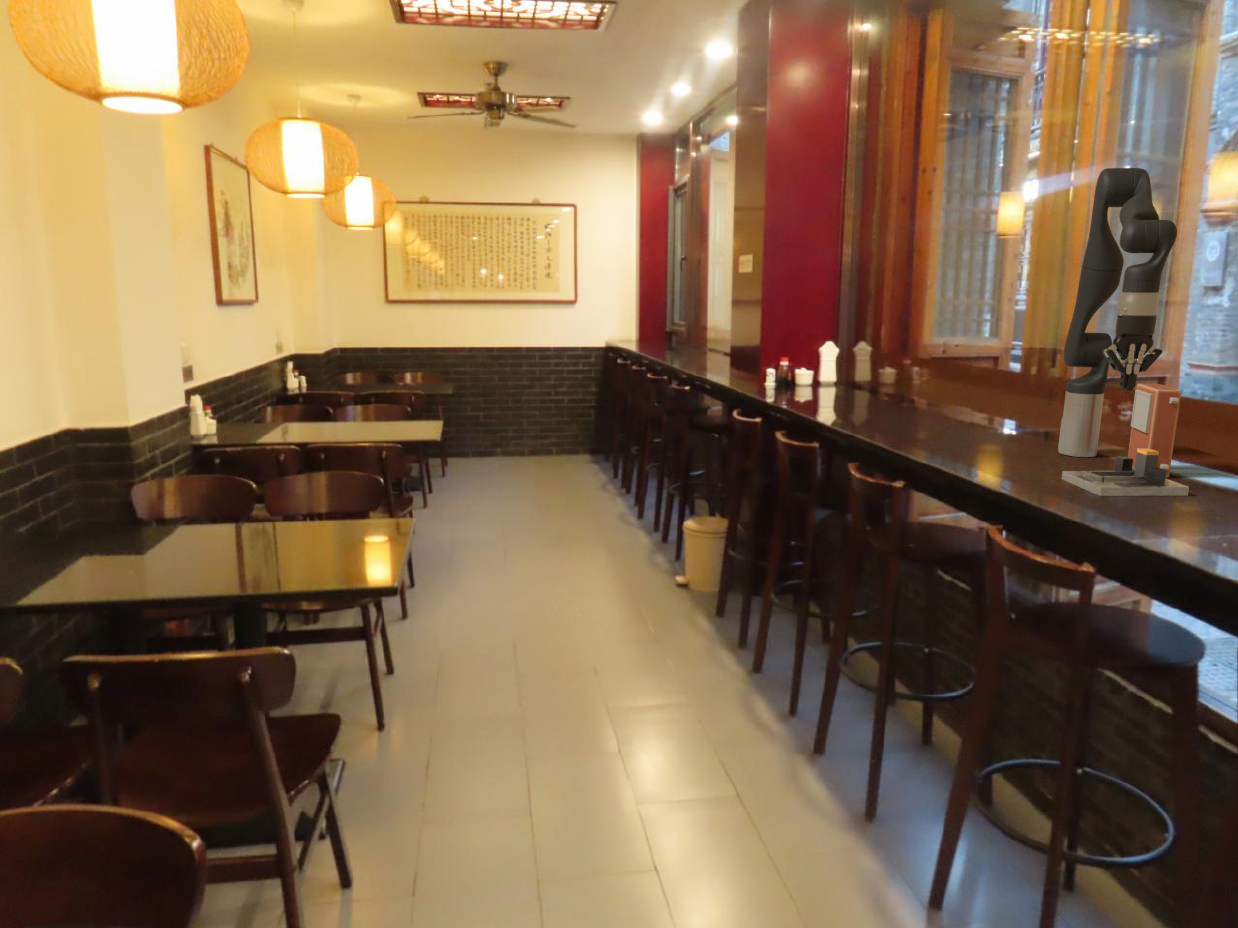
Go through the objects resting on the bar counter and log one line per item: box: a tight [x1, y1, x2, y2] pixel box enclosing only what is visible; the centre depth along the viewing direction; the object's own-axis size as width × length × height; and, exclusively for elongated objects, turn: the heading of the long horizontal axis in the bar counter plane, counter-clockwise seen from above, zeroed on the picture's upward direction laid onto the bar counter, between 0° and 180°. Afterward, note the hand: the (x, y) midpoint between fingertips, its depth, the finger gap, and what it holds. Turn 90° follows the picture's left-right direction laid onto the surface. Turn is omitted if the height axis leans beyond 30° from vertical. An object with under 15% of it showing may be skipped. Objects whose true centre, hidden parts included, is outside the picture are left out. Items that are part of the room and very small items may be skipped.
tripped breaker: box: [1133, 449, 1159, 476], centre depth 196 cm, size 4×3×6 cm
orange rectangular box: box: [1127, 383, 1182, 478], centre depth 211 cm, size 21×7×15 cm
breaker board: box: [1061, 456, 1190, 497], centre depth 197 cm, size 16×20×6 cm
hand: (1126, 390), depth 192 cm, fingers closed
